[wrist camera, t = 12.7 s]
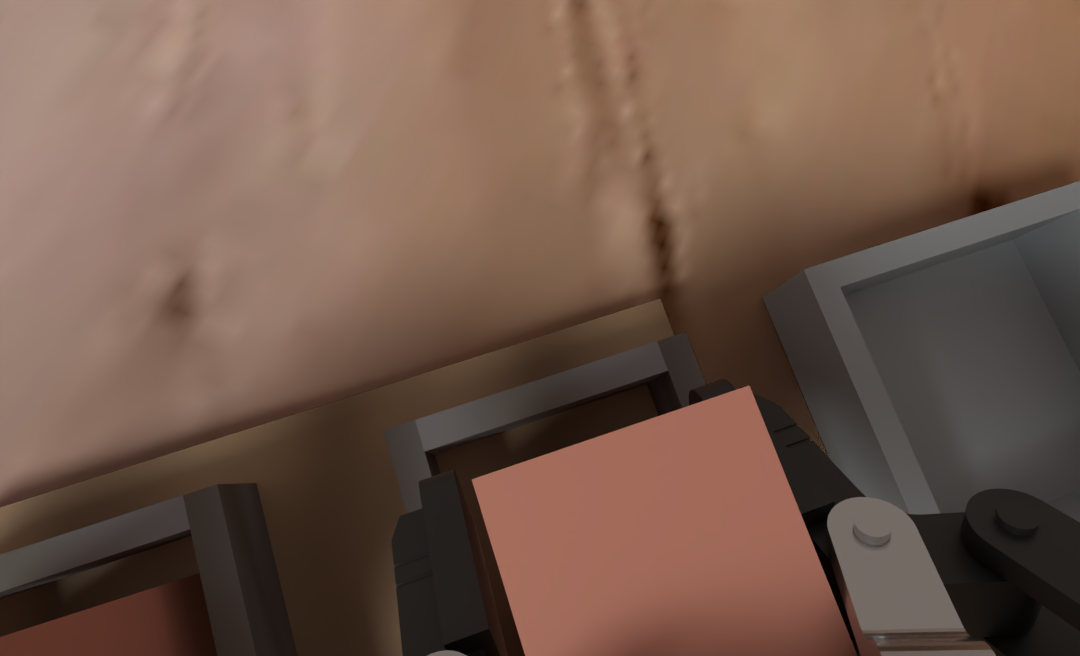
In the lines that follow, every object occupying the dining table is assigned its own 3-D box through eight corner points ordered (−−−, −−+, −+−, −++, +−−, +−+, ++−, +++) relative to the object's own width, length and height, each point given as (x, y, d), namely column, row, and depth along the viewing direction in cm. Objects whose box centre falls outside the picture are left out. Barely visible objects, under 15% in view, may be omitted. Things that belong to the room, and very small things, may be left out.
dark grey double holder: (649, 310, 21) (682, 273, 17) (781, 659, 19) (853, 707, 15) (-36, 528, 18) (-180, 543, 15) (28, 961, 16) (-121, 1114, 12)
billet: (631, 428, 19) (749, 385, 10) (686, 582, 18) (869, 684, 9) (484, 478, 18) (471, 479, 9) (533, 639, 17) (571, 808, 8)
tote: (1013, 216, 22) (1089, 177, 20) (1150, 487, 21) (1258, 488, 18) (762, 297, 21) (803, 269, 18) (885, 592, 19) (952, 612, 17)
